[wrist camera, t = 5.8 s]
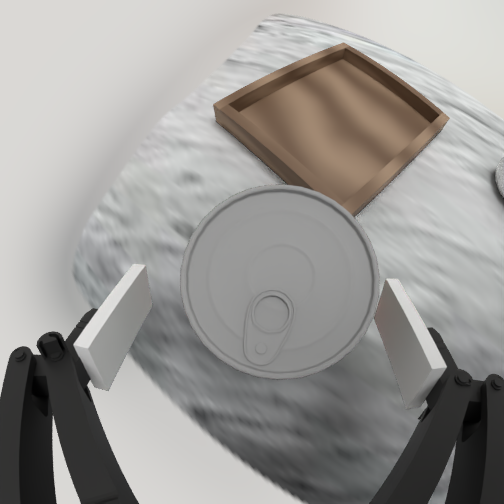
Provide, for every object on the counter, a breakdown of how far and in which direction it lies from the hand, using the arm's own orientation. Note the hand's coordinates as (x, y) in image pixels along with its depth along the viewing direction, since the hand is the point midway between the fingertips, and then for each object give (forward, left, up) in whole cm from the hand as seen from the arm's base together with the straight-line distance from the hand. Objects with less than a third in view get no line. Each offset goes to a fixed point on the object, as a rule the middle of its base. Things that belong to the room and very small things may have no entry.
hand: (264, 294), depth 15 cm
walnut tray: (-18, -9, -6) cm, 21 cm away
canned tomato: (0, 0, -7) cm, 7 cm away
